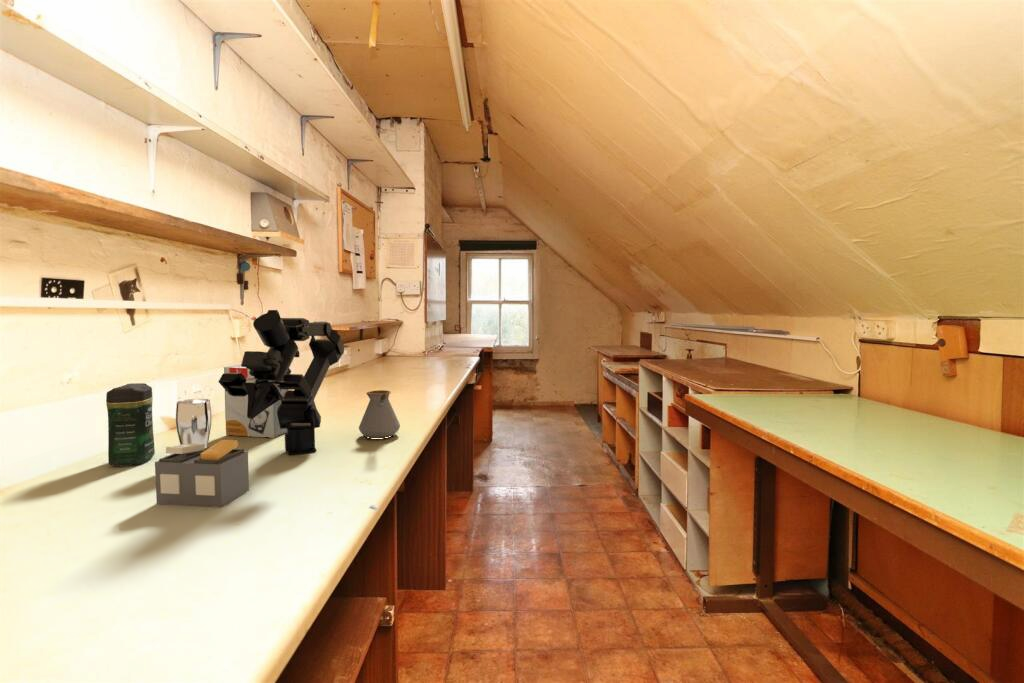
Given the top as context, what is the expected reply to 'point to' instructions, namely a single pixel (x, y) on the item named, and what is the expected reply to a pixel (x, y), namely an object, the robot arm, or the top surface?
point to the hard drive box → (237, 413)
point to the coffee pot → (379, 416)
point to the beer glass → (193, 421)
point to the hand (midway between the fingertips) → (249, 417)
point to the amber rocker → (219, 450)
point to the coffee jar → (130, 424)
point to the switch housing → (201, 479)
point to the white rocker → (185, 448)
